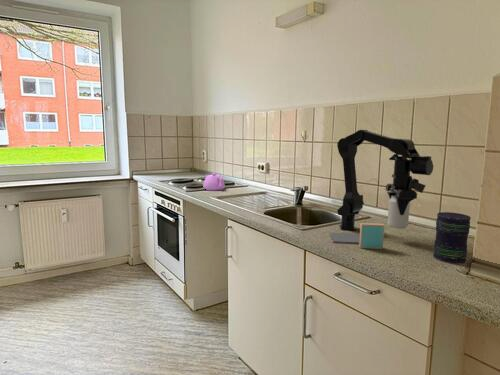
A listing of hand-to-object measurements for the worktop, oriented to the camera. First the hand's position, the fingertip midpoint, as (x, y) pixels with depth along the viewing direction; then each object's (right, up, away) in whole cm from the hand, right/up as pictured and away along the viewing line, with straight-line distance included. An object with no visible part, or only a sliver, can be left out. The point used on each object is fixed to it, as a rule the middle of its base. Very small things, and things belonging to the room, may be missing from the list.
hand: (398, 212), depth 136 cm
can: (0, -6, +1) cm, 6 cm away
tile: (-13, -12, -7) cm, 19 cm away
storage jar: (+10, -15, -17) cm, 24 cm away
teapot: (-84, +8, +119) cm, 146 cm away
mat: (-19, -11, +4) cm, 22 cm away
